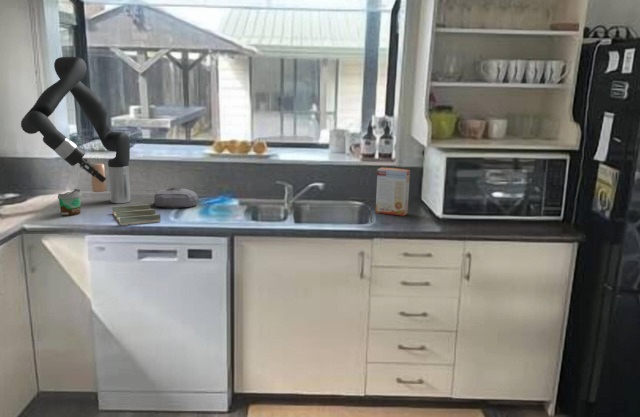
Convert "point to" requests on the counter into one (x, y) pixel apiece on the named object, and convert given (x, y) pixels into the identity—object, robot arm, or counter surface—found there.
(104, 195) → the counter surface
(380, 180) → the cracker box
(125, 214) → the comb board
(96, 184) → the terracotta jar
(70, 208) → the food container
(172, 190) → the soft grey pack
